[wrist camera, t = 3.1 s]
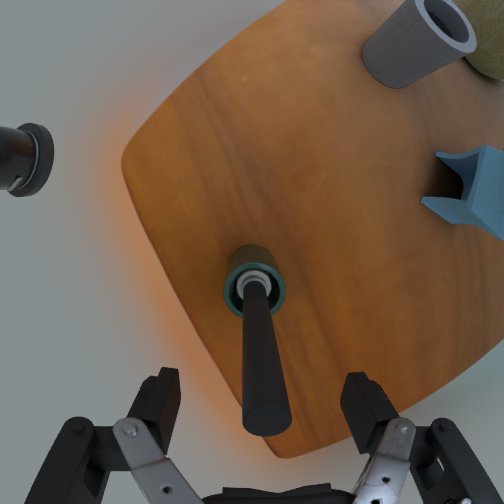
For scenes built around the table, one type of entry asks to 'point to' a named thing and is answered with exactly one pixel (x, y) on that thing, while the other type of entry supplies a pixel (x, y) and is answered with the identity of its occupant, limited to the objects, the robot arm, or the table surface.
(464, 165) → the blue bent piece
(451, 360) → the table surface
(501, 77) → the vase
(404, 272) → the table surface
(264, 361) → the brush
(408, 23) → the cup
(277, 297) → the holder
